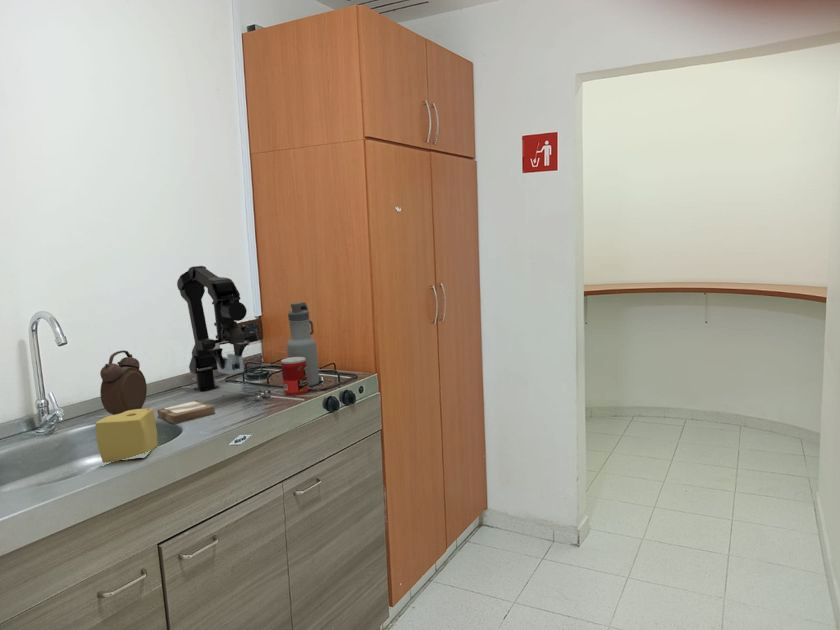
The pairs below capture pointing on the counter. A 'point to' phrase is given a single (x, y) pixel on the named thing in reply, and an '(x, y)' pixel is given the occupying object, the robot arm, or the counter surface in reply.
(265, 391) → the loose bolts
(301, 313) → the water bottle
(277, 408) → the counter surface
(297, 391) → the canned food
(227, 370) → the housing
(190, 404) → the picture frame
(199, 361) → the robot arm
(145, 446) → the cheese
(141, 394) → the alarm clock
